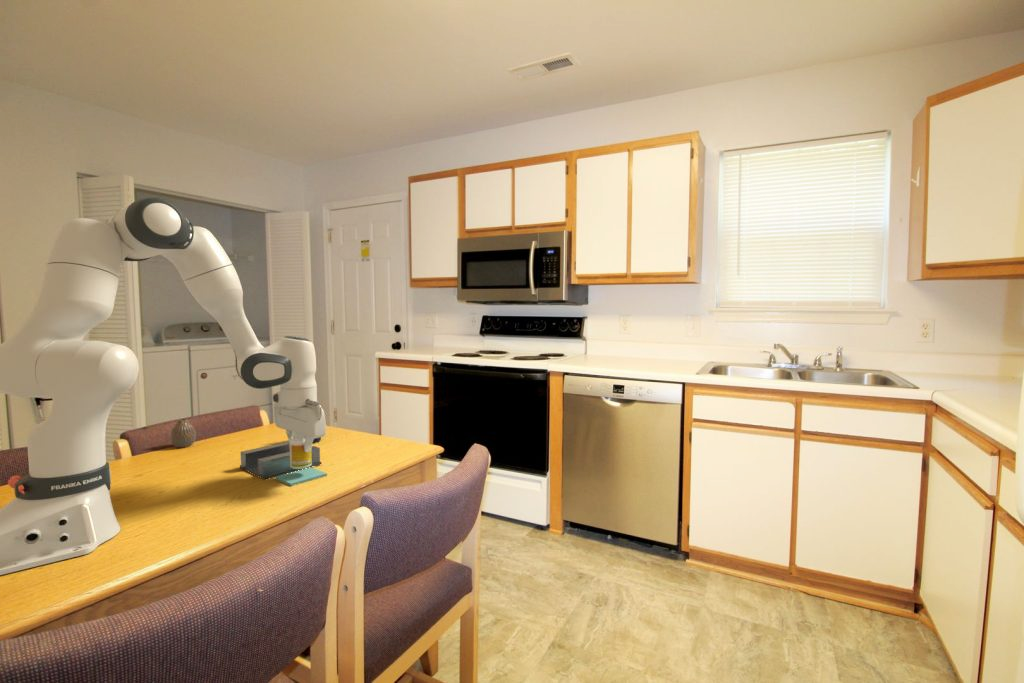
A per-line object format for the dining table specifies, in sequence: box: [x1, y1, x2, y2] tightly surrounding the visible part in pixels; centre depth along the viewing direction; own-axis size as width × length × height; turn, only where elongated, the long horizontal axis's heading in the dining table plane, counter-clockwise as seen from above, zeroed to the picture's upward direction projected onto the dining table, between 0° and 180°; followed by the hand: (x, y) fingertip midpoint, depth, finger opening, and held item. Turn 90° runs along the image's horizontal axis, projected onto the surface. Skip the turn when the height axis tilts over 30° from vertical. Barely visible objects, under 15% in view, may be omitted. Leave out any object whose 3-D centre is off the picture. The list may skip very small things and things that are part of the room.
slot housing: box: [239, 440, 322, 481], centre depth 140 cm, size 16×15×5 cm
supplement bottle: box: [289, 431, 312, 469], centre depth 131 cm, size 5×5×10 cm
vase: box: [169, 418, 197, 449], centre depth 159 cm, size 7×7×9 cm
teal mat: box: [275, 467, 328, 487], centre depth 131 cm, size 10×8×1 cm
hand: (300, 448), depth 131 cm, fingers closed on supplement bottle, 5 cm apart
